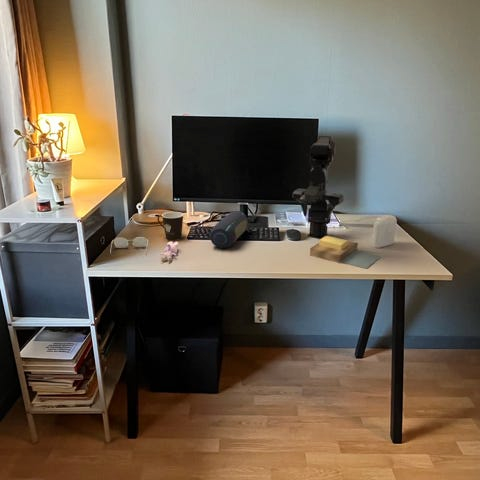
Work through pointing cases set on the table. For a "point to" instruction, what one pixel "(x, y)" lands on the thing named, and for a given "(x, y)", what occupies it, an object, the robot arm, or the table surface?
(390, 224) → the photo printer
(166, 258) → the rabbit figure
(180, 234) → the coffee mug
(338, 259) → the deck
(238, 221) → the portable speaker
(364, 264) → the mat
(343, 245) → the pale yellow foam brick
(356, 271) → the table surface
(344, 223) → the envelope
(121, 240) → the sunglasses
